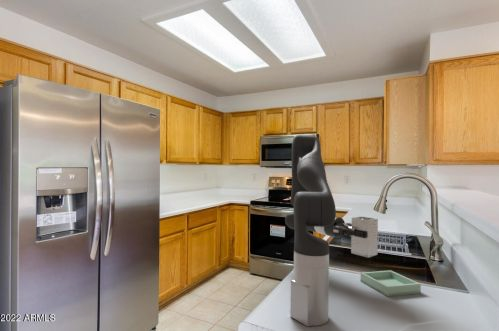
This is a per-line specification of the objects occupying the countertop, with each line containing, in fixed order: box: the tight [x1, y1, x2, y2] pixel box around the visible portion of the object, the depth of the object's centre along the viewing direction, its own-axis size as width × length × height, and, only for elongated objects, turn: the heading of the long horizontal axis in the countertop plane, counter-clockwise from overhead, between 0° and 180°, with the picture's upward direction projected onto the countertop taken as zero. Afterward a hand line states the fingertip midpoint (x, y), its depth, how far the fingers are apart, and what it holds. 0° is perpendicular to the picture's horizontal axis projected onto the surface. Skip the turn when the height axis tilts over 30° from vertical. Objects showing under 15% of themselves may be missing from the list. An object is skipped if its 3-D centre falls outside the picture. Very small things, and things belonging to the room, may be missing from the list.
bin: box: [360, 269, 422, 297], centre depth 94 cm, size 13×13×3 cm
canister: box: [350, 216, 379, 259], centre depth 92 cm, size 6×6×12 cm
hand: (371, 233), depth 91 cm, fingers closed on canister, 6 cm apart
